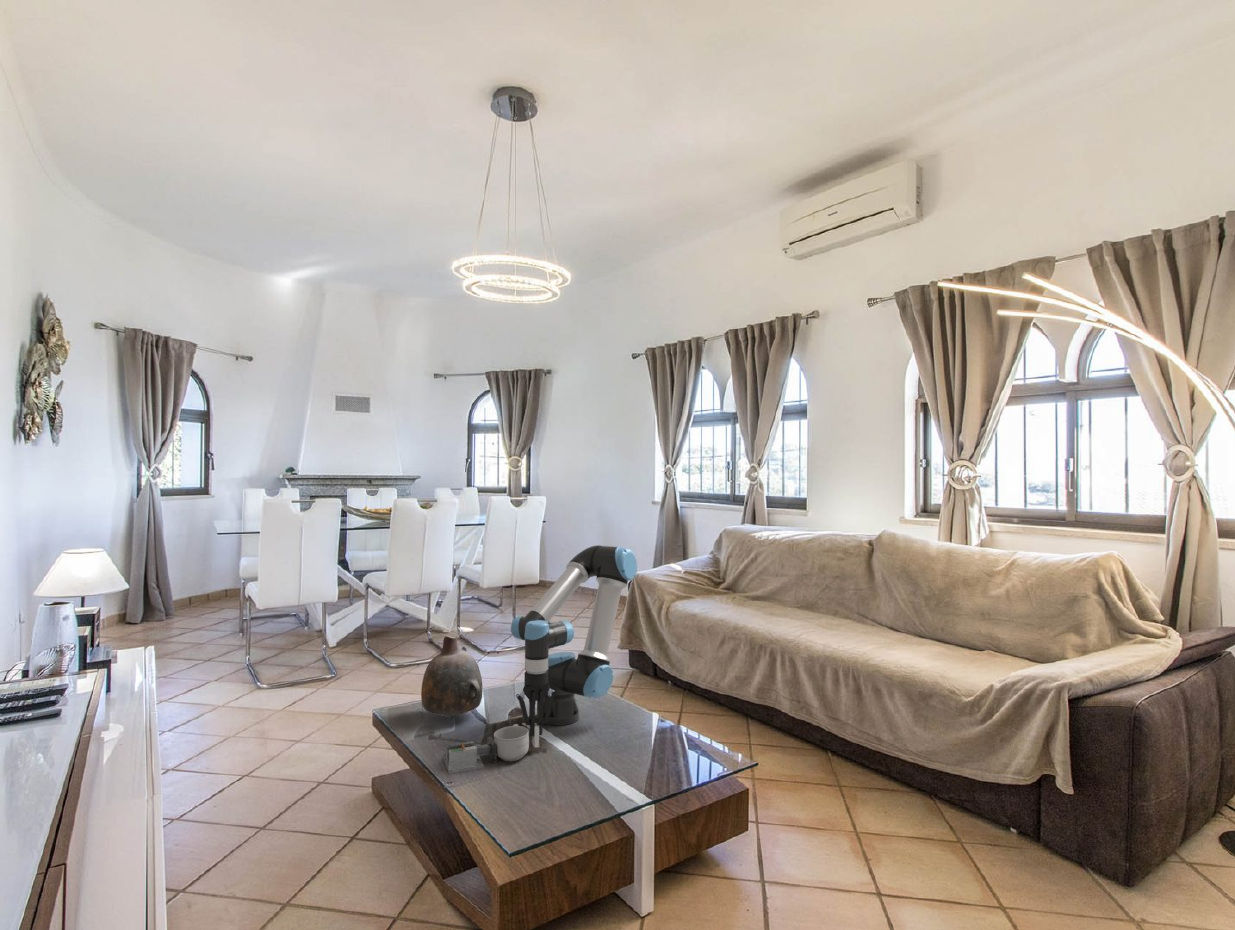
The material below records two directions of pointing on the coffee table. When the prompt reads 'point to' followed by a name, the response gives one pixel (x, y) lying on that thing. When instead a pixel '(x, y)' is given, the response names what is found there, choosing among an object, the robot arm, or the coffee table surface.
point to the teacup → (511, 742)
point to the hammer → (486, 749)
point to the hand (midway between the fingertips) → (535, 745)
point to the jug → (451, 682)
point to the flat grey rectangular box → (462, 758)
